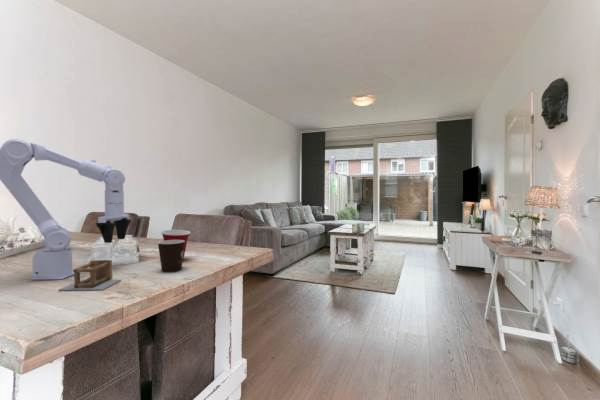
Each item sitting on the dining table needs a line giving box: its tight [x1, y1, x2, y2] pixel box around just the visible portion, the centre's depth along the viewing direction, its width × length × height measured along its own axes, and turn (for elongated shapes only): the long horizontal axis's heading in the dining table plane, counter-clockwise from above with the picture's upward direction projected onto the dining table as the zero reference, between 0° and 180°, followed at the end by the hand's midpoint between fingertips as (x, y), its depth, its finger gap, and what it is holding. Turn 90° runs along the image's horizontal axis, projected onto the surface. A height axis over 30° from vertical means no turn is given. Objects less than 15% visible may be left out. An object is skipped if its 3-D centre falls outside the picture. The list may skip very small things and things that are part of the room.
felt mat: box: [57, 279, 122, 292], centre depth 82 cm, size 12×8×1 cm
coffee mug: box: [157, 240, 185, 273], centre depth 101 cm, size 12×9×10 cm
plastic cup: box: [160, 229, 191, 260], centre depth 112 cm, size 11×11×12 cm
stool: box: [73, 259, 113, 288], centre depth 83 cm, size 6×6×8 cm
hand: (114, 240), depth 101 cm, fingers open, 7 cm apart
